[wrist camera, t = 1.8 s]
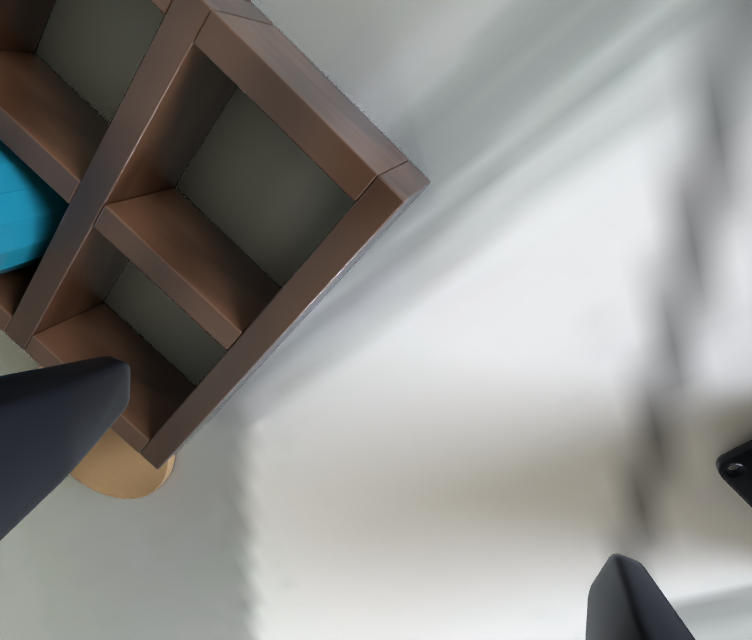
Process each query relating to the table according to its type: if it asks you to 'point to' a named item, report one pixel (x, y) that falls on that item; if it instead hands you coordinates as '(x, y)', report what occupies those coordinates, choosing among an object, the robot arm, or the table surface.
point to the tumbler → (25, 212)
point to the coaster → (119, 469)
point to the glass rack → (178, 203)
